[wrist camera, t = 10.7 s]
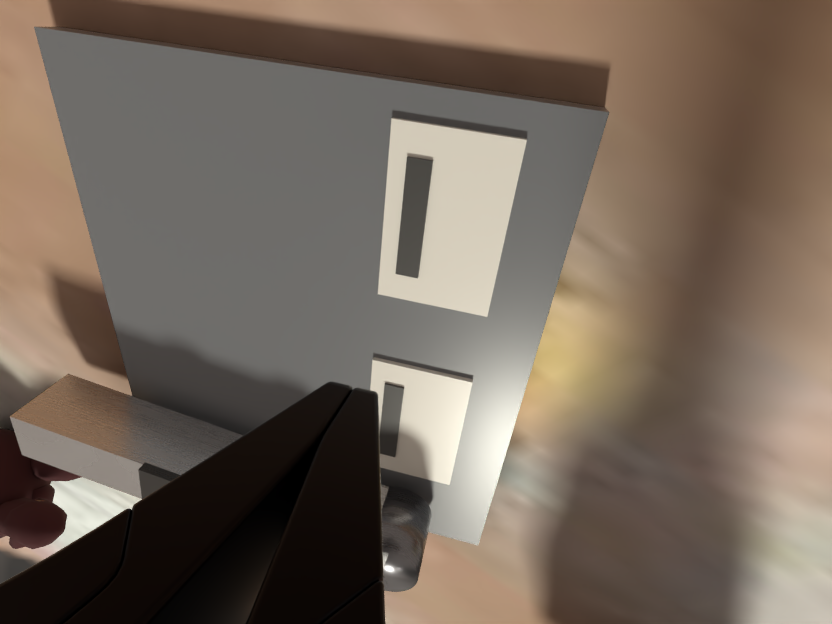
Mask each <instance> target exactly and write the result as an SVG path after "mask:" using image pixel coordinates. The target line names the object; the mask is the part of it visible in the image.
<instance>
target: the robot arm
mask: <svg viewBox="0 0 832 624" xmlns="http://www.w3.org/2000/svg"><path fill="white" fill-rule="evenodd" d="M0 624H385V604H384V584H383V544H382V509H381V474H380V439H379V403H378V394H377V392H375V391H371V390H367V389H363V388H359V387H357V388H354V389H353V388H352V387H351V386H350V385H346V384H342V383H337V382H332V381H331V382H327V383H325V384H324V385H322V386H321V387H319V388H318V389H316V390H314V391H313V392H311V393H310V394H308V395H307V396H305V397H303V398H302V399H300V400H299V401H297V402H295V403H294V404H292V405H291V406H289V407H288V408H286V409H284V410H283V411H281V412H280V413H278V414H276V415H275V416H273V417H272V418H270V419H269V420H267V421H265V422H264V423H262V424H261V425H259V426H258V427H256V428H254V429H253V430H251V431H250V432H248V433H246V434H245V435H243V436H242V437H240V438H239V439H237V440H235V441H234V442H232V443H231V444H229V445H227V446H226V447H224V448H223V449H221V450H220V451H218V452H216V453H215V454H213V455H212V456H210V457H209V458H207V459H205V460H204V461H202V462H201V463H199V464H197V465H196V466H194V467H193V468H191V469H190V470H188V471H186V472H185V473H183V474H182V475H180V476H179V477H177V478H175V479H174V480H172V481H171V482H169V483H167V484H166V485H164V486H163V487H161V488H160V489H158V490H156V491H155V492H153V493H152V494H150V495H148V496H147V497H145V498H144V499H142V500H141V501H139V502H137V503H136V504H134V506H133V508H132V510H131V509H126V510H124V511H123V512H121V513H120V514H118V515H116V516H115V517H113V518H112V519H110V520H109V521H107V522H105V523H104V524H102V525H101V526H99V527H97V528H96V529H94V530H92V531H91V532H89V533H88V534H86V535H84V536H83V537H81V538H79V539H78V540H76V541H74V542H73V543H71V544H69V545H68V546H66V547H64V548H63V549H61V550H59V551H58V552H56V553H55V554H53V555H51V556H49V557H48V558H46V559H44V560H42V561H40V562H39V563H37V564H35V565H33V566H31V567H30V568H28V569H26V570H24V571H23V572H21V573H19V574H17V575H15V576H14V577H12V578H10V579H8V580H6V581H5V582H3V583H1V584H0Z"/></svg>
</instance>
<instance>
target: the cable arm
mask: <svg viewBox="0 0 832 624" xmlns="http://www.w3.org/2000/svg"><path fill="white" fill-rule="evenodd" d="M10 419H11V422H12V425H13V428H14V432H15V435H16V438H17V441H18V444H19V447H20V450H21V453H22V455H24V456H26V457H29V458H32V459H35V460H37V461H40V462H43V463H46V464H48V465H51V466H54V467H56V468H59V469H62V470H65V471H67V472H70V473H73V474H76V475H78V476H81V477H84V478H86V479H89V480H92V481H95V482H97V483H100V484H103V485H106V486H108V487H111V488H114V489H116V490H119V491H122V492H125V493H127V494H130V495H133V496H136V497H138V498H141V499H144V498H145V497H147V496H148V495H150V494H152V493H153V492H155V491H156V490H158V489H160V488H161V487H163V486H164V485H166V484H167V483H169V482H171V481H172V480H174V479H175V478H177V477H179V476H180V475H182V474H183V473H185V472H186V471H188V470H190V469H191V468H193V467H194V466H196V465H197V464H199V463H201V462H202V461H204V460H205V459H207V458H209V457H210V456H212V455H213V454H215V453H216V452H218V451H220V450H221V449H223V448H224V447H226V446H227V445H229V444H231V443H232V442H234V441H235V440H237V439H239V438H240V437H242V436H243V435H241V434H238V433H235V432H232V431H229V430H226V429H224V428H221V427H218V426H215V425H212V424H209V423H207V422H204V421H201V420H198V419H195V418H192V417H190V416H187V415H184V414H181V413H178V412H175V411H173V410H170V409H167V408H164V407H161V406H158V405H156V404H153V403H150V402H147V401H144V400H141V399H139V398H136V397H133V396H130V395H127V394H124V393H122V392H119V391H116V390H113V389H110V388H107V387H105V386H102V385H99V384H96V383H93V382H90V381H88V380H85V379H82V378H79V377H76V376H73V375H71V374H67V375H66V376H64V377H63V378H62V379H60V380H59V381H58V382H56V383H55V384H53V385H52V386H51V387H49V388H48V389H47V390H45V391H44V392H43V393H41V394H40V395H38V396H37V397H36V398H34V399H33V400H32V401H30V402H29V403H27V404H26V405H25V406H23V407H22V408H21V409H19V410H18V411H16V412H15V413H14V414H12V415H11V416H10ZM381 509H382V544H383V584H384V590H385V591H392V592H399V591H405V590H409V589H411V588H412V587H414V586H415V585H416V583H417V581H418V576H419V572H420V567H421V563H422V558H423V554H424V549H425V544H426V540H427V535H428V531H429V526H430V522H431V517H432V513H431V509H430V507H429V505H428V504H427V502H426V501H425V500H424V499H423V498H422V497H420V496H419V495H417V494H416V493H414V492H412V491H410V490H407V489H404V488H399V487H388V486H385V485H382V484H381Z"/></svg>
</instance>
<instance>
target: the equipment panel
mask: <svg viewBox="0 0 832 624" xmlns="http://www.w3.org/2000/svg"><path fill="white" fill-rule="evenodd" d="M34 28H35V32H36V36H37V39H38V43H39V47H40V51H41V54H42V58H43V62H44V66H45V69H46V73H47V77H48V81H49V84H50V88H51V92H52V96H53V99H54V103H55V107H56V111H57V114H58V118H59V122H60V126H61V129H62V133H63V137H64V141H65V144H66V148H67V152H68V156H69V159H70V163H71V167H72V171H73V174H74V178H75V182H76V186H77V189H78V193H79V197H80V201H81V204H82V208H83V212H84V216H85V219H86V223H87V227H88V231H89V234H90V238H91V242H92V246H93V249H94V253H95V257H96V261H97V264H98V268H99V272H100V275H101V279H102V283H103V287H104V290H105V294H106V298H107V302H108V305H109V309H110V313H111V317H112V320H113V324H114V328H115V332H116V335H117V339H118V343H119V347H120V350H121V354H122V358H123V362H124V365H125V369H126V373H127V377H128V380H129V384H130V388H131V392H132V395H133V397H136V398H139V399H141V400H144V401H147V402H150V403H153V404H156V405H158V406H161V407H164V408H167V409H170V410H173V411H175V412H178V413H181V414H184V415H187V416H190V417H192V418H195V419H198V420H201V421H204V422H207V423H209V424H212V425H215V426H218V427H221V428H224V429H226V430H229V431H232V432H235V433H238V434H241V435H245V434H246V433H248V432H250V431H251V430H253V429H254V428H256V427H258V426H259V425H261V424H262V423H264V422H265V421H267V420H269V419H270V418H272V417H273V416H275V415H276V414H278V413H280V412H281V411H283V410H284V409H286V408H288V407H289V406H291V405H292V404H294V403H295V402H297V401H299V400H300V399H302V398H303V397H305V396H307V395H308V394H310V393H311V392H313V391H314V390H316V389H318V388H319V387H321V386H322V385H324V384H325V383H327V382H331V381H332V382H337V383H342V384H346V385H350V386H351V387H352V388H353V389H354V388H357V387H359V388H363V389H367V390H371V391H375V392H377V394H378V403H379V439H380V474H381V484H382V485H385V486H388V487H399V488H404V489H407V490H410V491H412V492H414V493H416V494H417V495H419V496H420V497H422V498H423V499H424V500H425V501H426V502H427V504H428V505H429V507H430V509H431V513H432V517H431V522H430V526H429V531H428V532H430V533H434V534H438V535H441V536H445V537H449V538H452V539H456V540H460V541H464V542H467V543H471V544H475V545H478V544H479V541H480V538H481V534H482V531H483V528H484V525H485V521H486V518H487V515H488V511H489V508H490V505H491V501H492V498H493V495H494V491H495V488H496V485H497V482H498V478H499V475H500V472H501V468H502V465H503V462H504V458H505V455H506V452H507V449H508V445H509V442H510V439H511V435H512V432H513V429H514V425H515V422H516V419H517V415H518V412H519V409H520V406H521V402H522V399H523V396H524V392H525V389H526V386H527V382H528V379H529V376H530V373H531V369H532V366H533V363H534V359H535V356H536V353H537V349H538V346H539V343H540V339H541V336H542V333H543V330H544V326H545V323H546V320H547V316H548V313H549V310H550V306H551V303H552V300H553V296H554V293H555V290H556V287H557V283H558V280H559V277H560V273H561V270H562V267H563V263H564V260H565V257H566V254H567V250H568V247H569V244H570V240H571V237H572V234H573V230H574V227H575V224H576V220H577V217H578V214H579V211H580V207H581V204H582V201H583V197H584V194H585V191H586V187H587V184H588V181H589V177H590V174H591V171H592V168H593V164H594V161H595V158H596V154H597V151H598V148H599V144H600V141H601V138H602V135H603V131H604V128H605V125H606V121H607V118H608V115H609V112H608V110H607V109H606V108H605V107H599V106H592V105H585V104H578V103H572V102H565V101H558V100H551V99H545V98H538V97H531V96H524V95H517V94H511V93H504V92H497V91H490V90H484V89H477V88H470V87H463V86H456V85H450V84H443V83H436V82H429V81H423V80H416V79H409V78H402V77H396V76H389V75H382V74H375V73H368V72H362V71H355V70H348V69H341V68H335V67H328V66H321V65H314V64H307V63H301V62H294V61H287V60H280V59H274V58H267V57H260V56H253V55H247V54H240V53H233V52H226V51H219V50H213V49H206V48H199V47H192V46H186V45H179V44H172V43H165V42H158V41H152V40H145V39H138V38H131V37H125V36H118V35H111V34H104V33H98V32H91V31H84V30H77V29H70V28H64V27H34Z"/></svg>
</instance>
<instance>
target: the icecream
mask: <svg viewBox="0 0 832 624" xmlns="http://www.w3.org/2000/svg"><path fill="white" fill-rule="evenodd" d="M80 477H81V476H78V475H76V474H73V473H70V472H67V471H65V470H62V469H59V468H56V467H54V466H51V465H48V464H46V463H43V462H40V461H37V460H35V459H32V458H29V457H26V456H24V455H22V453H21V450H20V447H19V444H18V441H17V438H16V435H15V432H14V431H12V430H6V429H0V538H2V537H4V536H9V537H10V541H9V544H10V545H11V547H12V548H15V549H18V548H22V547H28V548H31V549H35V548H39V547H43V546H46V545H48V544H51V543H52V542H53V541H55V540H56V539H57V538H58V537H59V536H60V535H61V534H62V533H63V532H64V530H65V524H66V518H67V514H66V513H65V512H64V510H62V509H61V508H60V507H58V506H57V505H55V504H54V503H52V502H53V497H54V493H55V490H54V488H53V487H52V486H51V485H50V483H51V481H69V480H73V479H77V478H80Z"/></svg>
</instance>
